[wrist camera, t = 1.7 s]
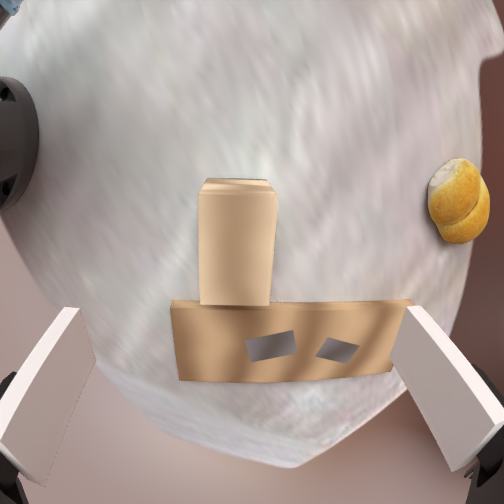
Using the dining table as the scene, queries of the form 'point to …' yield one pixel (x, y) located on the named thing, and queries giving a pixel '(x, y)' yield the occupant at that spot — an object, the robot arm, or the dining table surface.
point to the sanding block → (236, 241)
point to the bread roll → (458, 201)
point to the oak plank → (284, 340)
